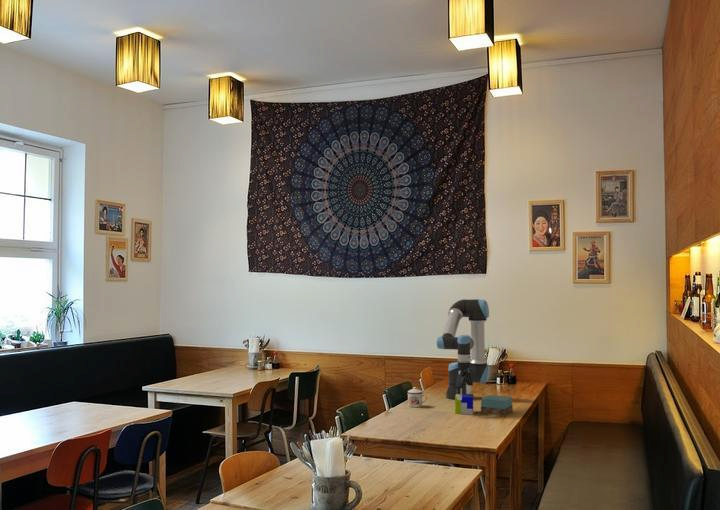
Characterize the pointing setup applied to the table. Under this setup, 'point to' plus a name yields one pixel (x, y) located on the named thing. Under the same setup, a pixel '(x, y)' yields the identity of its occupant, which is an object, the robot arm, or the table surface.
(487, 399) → the top block
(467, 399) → the puzzle toy
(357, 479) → the table surface
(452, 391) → the robot arm
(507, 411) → the base block
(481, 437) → the table surface
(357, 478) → the table surface
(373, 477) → the table surface
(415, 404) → the teacup with lid
